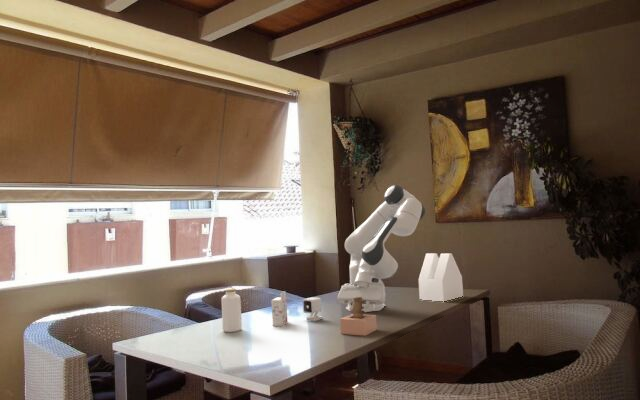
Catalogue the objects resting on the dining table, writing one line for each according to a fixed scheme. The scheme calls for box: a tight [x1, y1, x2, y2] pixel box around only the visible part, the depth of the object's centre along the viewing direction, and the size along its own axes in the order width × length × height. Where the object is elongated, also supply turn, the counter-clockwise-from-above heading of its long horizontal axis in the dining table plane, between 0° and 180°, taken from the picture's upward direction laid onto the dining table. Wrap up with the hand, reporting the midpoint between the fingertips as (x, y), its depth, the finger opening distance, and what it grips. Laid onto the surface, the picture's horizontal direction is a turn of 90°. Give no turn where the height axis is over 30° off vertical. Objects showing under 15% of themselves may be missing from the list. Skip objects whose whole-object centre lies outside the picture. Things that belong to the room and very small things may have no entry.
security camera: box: [302, 296, 323, 322], centre depth 231 cm, size 6×7×10 cm
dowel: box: [352, 297, 364, 319], centre depth 201 cm, size 4×4×12 cm
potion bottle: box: [221, 288, 243, 333], centre depth 217 cm, size 8×8×18 cm
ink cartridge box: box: [270, 290, 288, 327], centre depth 226 cm, size 9×5×15 cm, turn 168°
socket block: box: [339, 313, 378, 337], centre depth 201 cm, size 11×11×6 cm
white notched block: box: [418, 252, 464, 303], centre depth 271 cm, size 19×15×25 cm
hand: (357, 311), depth 201 cm, fingers closed on dowel, 4 cm apart
